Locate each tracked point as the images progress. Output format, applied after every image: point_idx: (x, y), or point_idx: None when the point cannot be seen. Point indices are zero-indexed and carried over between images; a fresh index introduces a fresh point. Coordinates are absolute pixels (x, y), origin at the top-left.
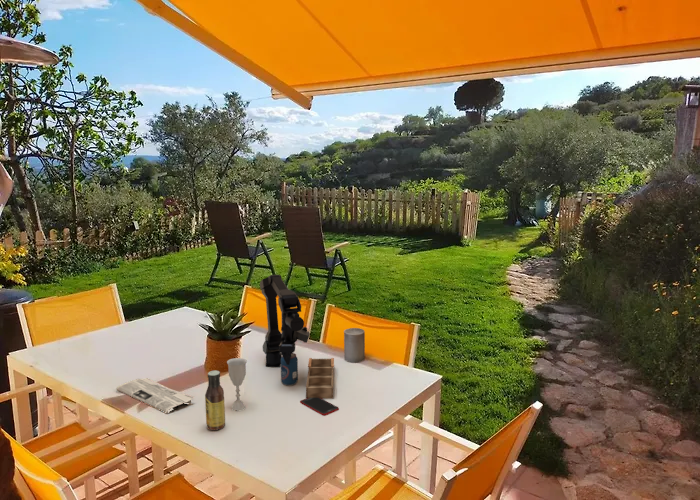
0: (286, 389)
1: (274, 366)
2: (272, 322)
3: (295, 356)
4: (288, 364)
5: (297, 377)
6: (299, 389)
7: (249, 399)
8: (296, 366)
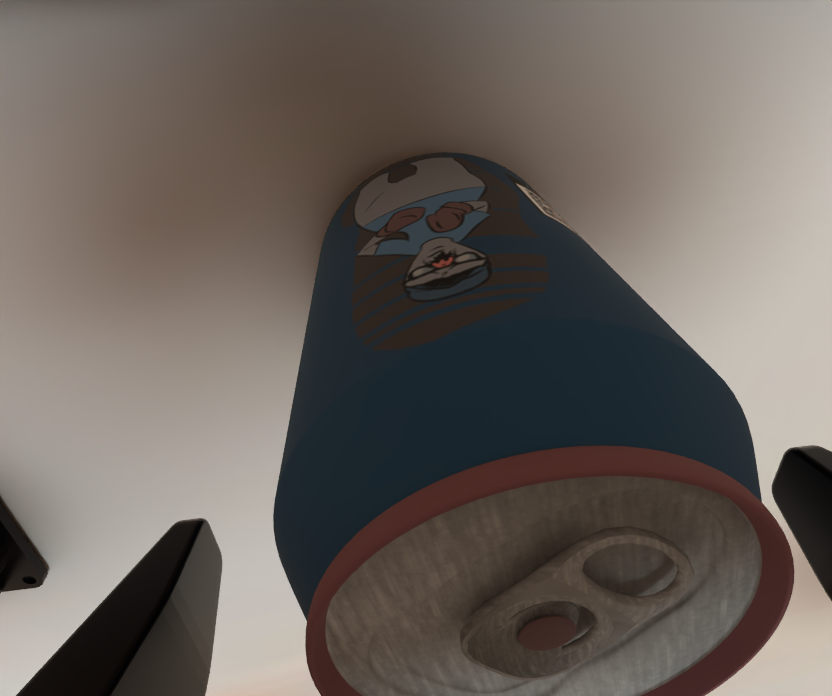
0: (637, 257)
1: (4, 512)
2: None
3: (656, 455)
4: (816, 464)
5: (467, 163)
6: (669, 75)
7: (779, 511)
8: (573, 252)
